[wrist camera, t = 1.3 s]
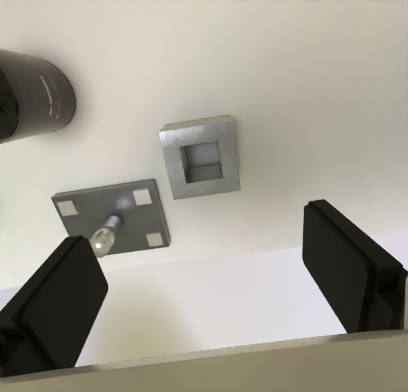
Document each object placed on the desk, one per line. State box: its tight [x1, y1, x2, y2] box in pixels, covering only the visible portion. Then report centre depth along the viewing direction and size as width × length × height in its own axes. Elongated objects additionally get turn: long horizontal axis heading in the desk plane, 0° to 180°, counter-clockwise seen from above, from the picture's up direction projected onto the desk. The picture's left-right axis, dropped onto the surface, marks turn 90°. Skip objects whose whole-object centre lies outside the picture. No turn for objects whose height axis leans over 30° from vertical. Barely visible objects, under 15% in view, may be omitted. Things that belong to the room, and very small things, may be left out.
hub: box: [159, 115, 240, 200], centre depth 23 cm, size 7×7×5 cm
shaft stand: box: [51, 179, 170, 258], centre depth 26 cm, size 12×9×6 cm
